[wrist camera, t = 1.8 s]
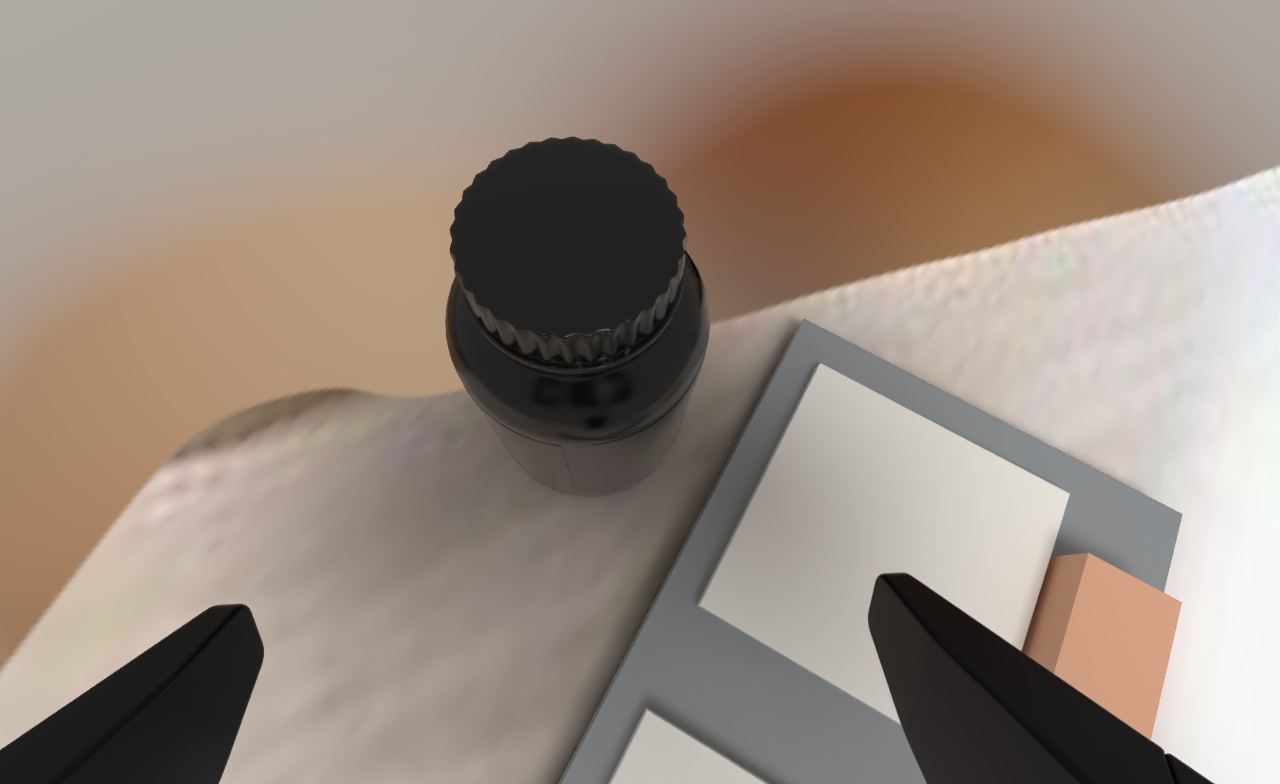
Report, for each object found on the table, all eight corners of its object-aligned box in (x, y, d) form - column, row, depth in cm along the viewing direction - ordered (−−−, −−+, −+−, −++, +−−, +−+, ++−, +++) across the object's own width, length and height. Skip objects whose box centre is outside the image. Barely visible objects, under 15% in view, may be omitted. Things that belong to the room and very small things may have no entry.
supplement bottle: (621, 302, 25) (635, 51, 14) (711, 442, 23) (813, 287, 12) (467, 380, 24) (341, 172, 12) (552, 536, 22) (496, 460, 10)
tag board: (1147, 519, 23) (1237, 505, 20) (906, 1447, 15) (992, 1683, 12) (792, 335, 25) (821, 293, 22) (404, 1076, 17) (355, 1191, 13)
